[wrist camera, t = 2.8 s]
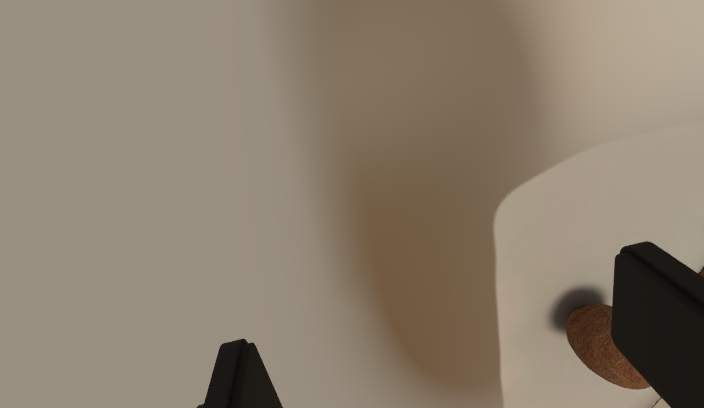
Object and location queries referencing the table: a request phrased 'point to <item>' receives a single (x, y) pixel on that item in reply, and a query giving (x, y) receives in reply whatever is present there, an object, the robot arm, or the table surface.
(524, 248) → the table surface
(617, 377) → the coconut
